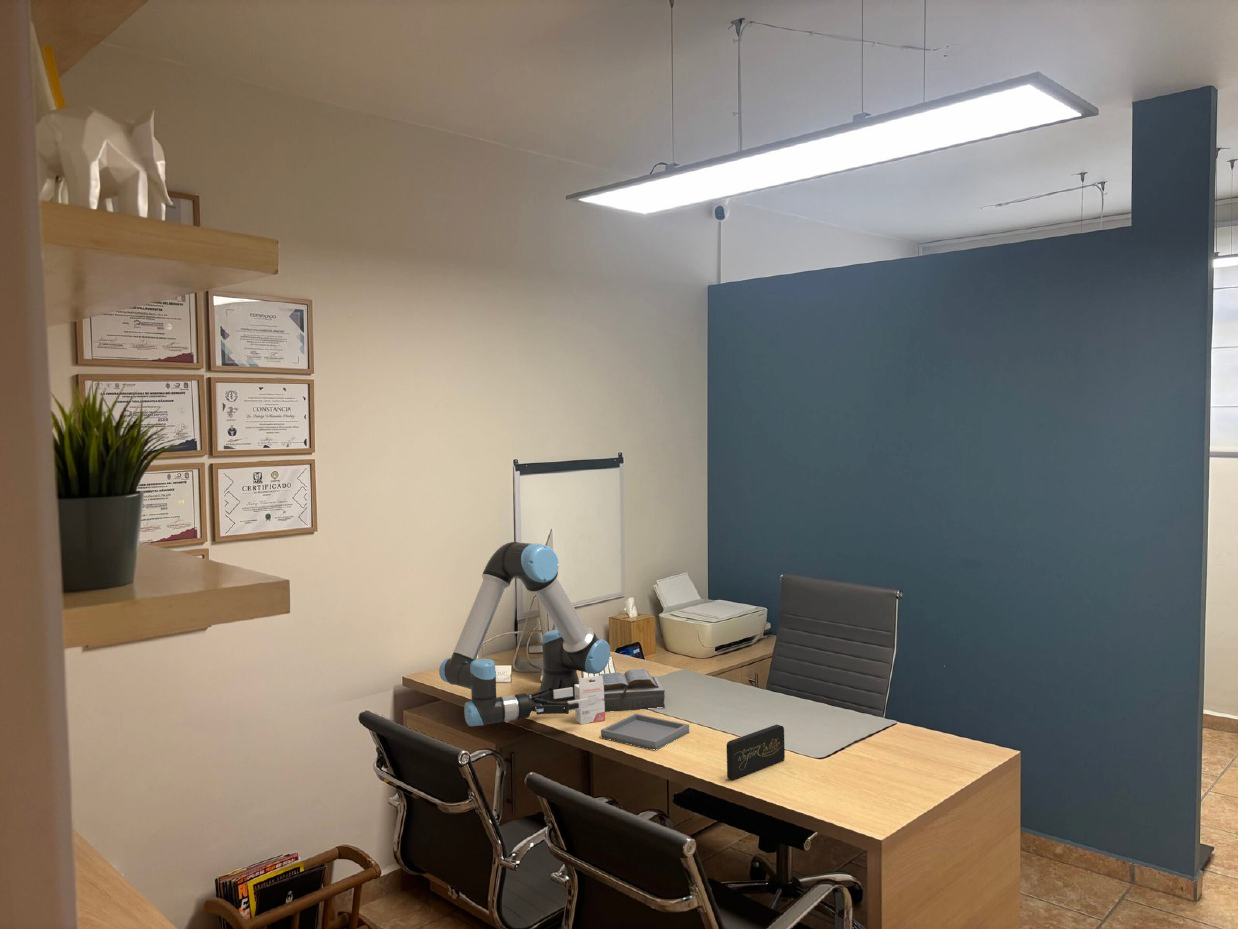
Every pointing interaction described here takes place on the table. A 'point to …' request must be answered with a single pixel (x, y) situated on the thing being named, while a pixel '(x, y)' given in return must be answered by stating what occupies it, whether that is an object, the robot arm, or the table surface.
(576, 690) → the ink cartridge box
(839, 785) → the table surface
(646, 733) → the desk tray
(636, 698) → the bible
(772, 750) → the nameplate
